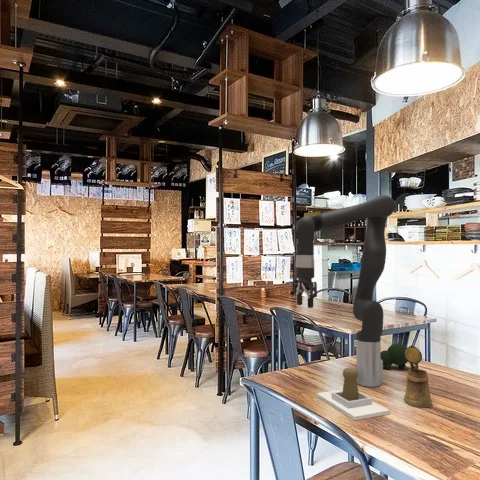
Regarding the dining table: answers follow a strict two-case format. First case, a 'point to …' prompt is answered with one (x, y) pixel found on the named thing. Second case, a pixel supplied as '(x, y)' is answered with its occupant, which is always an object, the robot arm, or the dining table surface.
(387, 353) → the toy figurine
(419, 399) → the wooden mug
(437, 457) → the dining table surface
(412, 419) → the dining table surface
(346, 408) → the board
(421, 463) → the dining table surface
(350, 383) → the olive tall rounded piece
